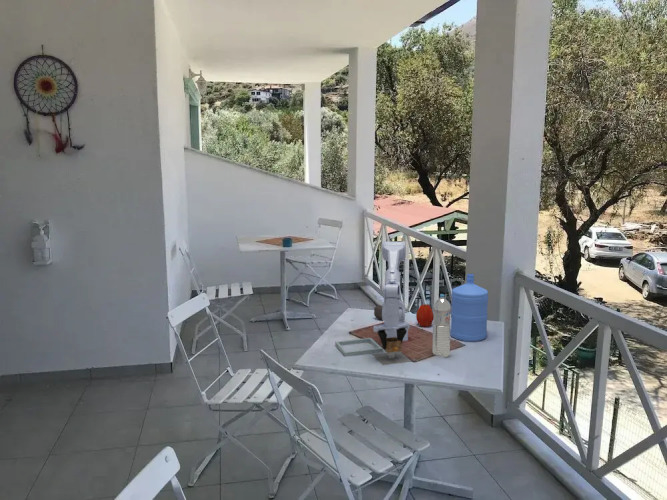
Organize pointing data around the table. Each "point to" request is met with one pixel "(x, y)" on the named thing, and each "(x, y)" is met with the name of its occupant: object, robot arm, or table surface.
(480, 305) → the water jug
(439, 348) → the water bottle
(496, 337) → the table surface
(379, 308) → the perforated stone tool
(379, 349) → the pale green tray
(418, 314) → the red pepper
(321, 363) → the table surface
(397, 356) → the post board
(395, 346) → the walnut collar
